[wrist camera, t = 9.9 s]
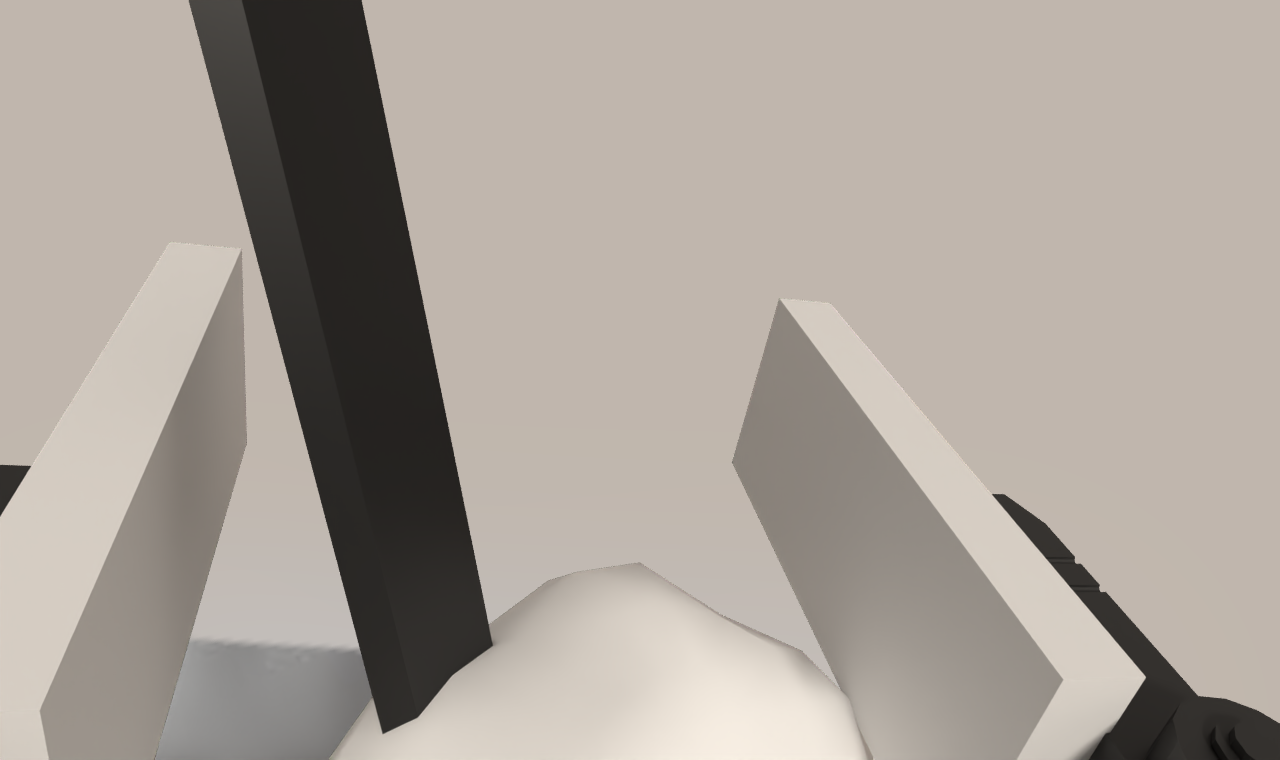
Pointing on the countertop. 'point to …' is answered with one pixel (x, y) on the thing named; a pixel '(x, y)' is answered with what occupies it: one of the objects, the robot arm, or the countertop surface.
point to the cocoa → (454, 465)
